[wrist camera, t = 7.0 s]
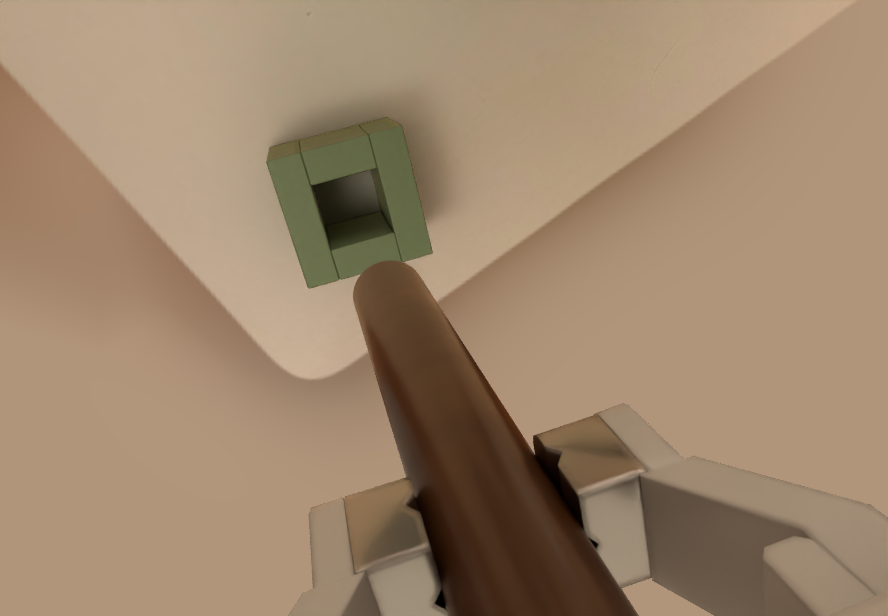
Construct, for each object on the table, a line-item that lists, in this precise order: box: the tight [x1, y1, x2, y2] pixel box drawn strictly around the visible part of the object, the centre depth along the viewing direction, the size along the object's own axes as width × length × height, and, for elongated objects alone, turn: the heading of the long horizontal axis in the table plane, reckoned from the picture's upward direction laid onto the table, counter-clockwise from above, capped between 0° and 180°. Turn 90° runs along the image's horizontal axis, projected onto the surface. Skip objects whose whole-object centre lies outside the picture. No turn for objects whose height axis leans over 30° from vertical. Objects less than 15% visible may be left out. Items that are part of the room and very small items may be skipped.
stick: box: [353, 260, 639, 616], centre depth 10 cm, size 2×2×18 cm
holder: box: [267, 117, 433, 288], centre depth 33 cm, size 6×6×5 cm
